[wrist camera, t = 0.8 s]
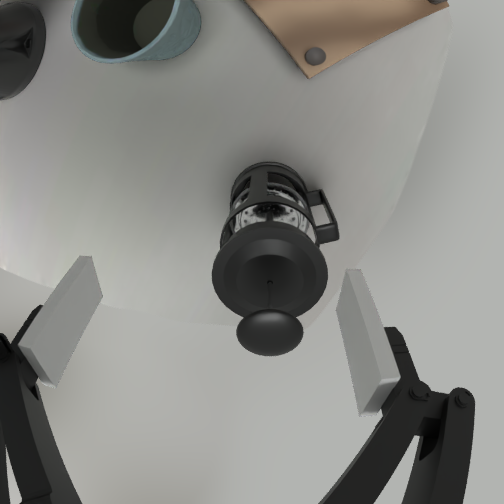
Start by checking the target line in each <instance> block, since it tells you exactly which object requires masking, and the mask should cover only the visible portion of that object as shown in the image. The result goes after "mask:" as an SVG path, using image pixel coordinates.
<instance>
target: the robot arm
mask: <svg viewBox="0 0 504 504" xmlns="http://www.w3.org/2000/svg"><path fill="white" fill-rule="evenodd" d="M0 1H1V0H0ZM44 45H45V24H44V20H43V17H42V15H41V13H40V11H39V10H38V9H37V8H36V7H35V6H33V5H31V4H28V3H21V2H12V3H8V4H5V5H3V6H0V101H1V100H5V99H8V98H11V97H14V96H15V95H17V94H18V93H20V92H21V91H22V90H23V89H24V88H25V87H26V86H27V85H28V84H29V82H30V81H31V79H32V78H33V76H34V74H35V73H36V71H37V68H38V66H39V64H40V61H41V58H42V55H43V51H44ZM102 297H103V295H102V292H101V288H100V285H99V282H98V278H97V275H96V271H95V267H94V264H93V260H92V256H79V258H78V259H77V260H76V261H75V263H74V264H73V265H72V267H71V268H70V269H69V271H68V272H67V273H66V275H65V276H64V277H63V279H62V280H61V281H60V283H59V284H58V285H57V287H56V288H55V290H54V291H53V293H52V294H51V295H50V297H49V298H48V300H47V301H46V302H45V304H44V305H39V306H38V307H37V308H35V309H34V310H33V311H32V312H31V314H30V315H29V317H28V318H27V320H26V321H25V322H24V324H23V326H22V327H21V329H20V330H19V332H18V333H17V335H16V336H15V338H14V339H13V341H12V343H11V344H10V342H9V341H8V339H7V337H6V336H5V335H4V334H3V333H0V504H10V498H9V488H8V478H7V465H6V447H7V451H8V455H9V459H10V462H11V466H12V469H13V473H14V476H15V479H16V482H17V485H18V488H19V491H20V494H21V497H22V502H21V503H20V504H82V502H81V500H80V498H79V496H78V494H77V492H76V490H75V488H74V486H73V484H72V481H71V479H70V477H69V474H68V472H67V470H66V468H65V465H64V463H63V460H62V458H61V455H60V453H59V450H58V447H57V445H56V442H55V439H54V436H53V434H52V431H51V428H50V425H49V422H48V419H47V416H46V412H45V409H44V406H43V402H42V399H41V395H40V391H39V388H38V386H37V384H36V381H37V379H38V377H39V379H40V380H41V382H42V383H43V385H46V386H50V387H53V388H57V385H58V383H59V381H60V379H61V377H62V375H63V373H64V370H65V368H66V366H67V364H68V362H69V360H70V358H71V356H72V354H73V352H74V350H75V348H76V346H77V344H78V342H79V340H80V338H81V336H82V334H83V332H84V330H85V328H86V327H87V325H88V323H89V321H90V319H91V317H92V315H93V313H94V312H95V310H96V308H97V306H98V304H99V303H100V301H101V299H102ZM336 312H337V316H338V321H339V325H340V329H341V333H342V337H343V342H344V346H345V350H346V354H347V359H348V364H349V368H350V372H351V378H352V382H353V387H354V392H355V397H356V402H357V407H358V412H359V417H362V416H372V415H377V413H378V412H379V410H380V409H381V410H382V414H383V417H382V418H381V420H380V421H379V422H378V424H377V425H376V426H375V427H376V428H375V429H374V431H373V432H372V434H371V435H370V437H369V438H368V440H367V441H366V443H365V444H364V445H363V447H362V448H361V450H360V451H359V453H358V454H357V455H356V457H355V458H354V459H353V461H352V462H351V464H350V465H349V466H348V468H347V469H346V470H345V472H344V473H343V474H342V475H341V477H340V478H339V479H338V481H337V482H336V483H335V484H334V486H333V487H332V488H331V489H330V491H329V492H328V493H327V494H326V495H325V497H324V498H323V499H322V500H321V501H320V502H319V504H373V503H374V502H375V501H376V499H377V498H378V496H379V495H380V493H381V492H382V490H383V489H384V487H385V486H386V484H387V482H388V481H389V479H390V478H391V476H392V474H393V473H394V471H395V469H396V468H397V466H398V464H399V462H400V461H401V459H402V457H403V456H404V454H405V452H406V450H407V448H408V447H409V445H410V443H411V441H412V439H413V437H414V435H417V436H420V438H419V442H418V447H417V451H416V455H415V460H414V463H413V467H412V471H411V475H410V478H409V481H408V485H407V489H406V492H405V495H404V498H403V501H402V504H463V499H464V494H465V489H466V484H467V478H468V472H469V465H470V458H471V450H472V440H473V430H474V415H475V400H474V397H473V395H472V393H470V392H469V391H468V390H467V389H465V388H459V387H458V388H455V389H453V390H452V391H451V392H450V394H445V393H439V392H434V391H431V389H430V388H429V386H428V385H427V384H425V383H424V382H422V381H420V380H419V377H418V375H417V372H416V369H415V367H414V364H413V361H412V358H411V356H410V353H409V351H408V348H407V346H406V343H405V340H404V338H403V335H402V334H401V333H400V332H399V331H398V330H397V328H396V327H383V325H382V322H381V319H380V316H379V314H378V311H377V309H376V306H375V303H374V301H373V298H372V296H371V293H370V291H369V288H368V286H367V283H366V281H365V278H364V276H363V273H362V271H361V269H346V272H345V277H344V281H343V285H342V289H341V293H340V297H339V300H338V305H337V308H336Z"/></svg>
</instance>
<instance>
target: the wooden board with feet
mask: <svg viewBox="0 0 504 504" xmlns="http://www.w3.org/2000/svg"><path fill="white" fill-rule="evenodd" d="M243 1H244V2H245V3H246V4H247V5H248V6H249V7H250V8H251V9H252V11H253V12H254V13H255V14H256V15H257V16H258V17H259V18H260V20H261V21H262V22H263V23H264V24H265V25H266V27H267V28H268V29H269V30H270V31H271V32H272V34H273V35H274V36H275V37H276V39H277V40H278V41H279V42H280V43H281V45H282V46H283V47H284V48H285V50H286V51H287V52H288V53H289V55H290V56H291V57H292V59H293V60H294V61H295V63H296V65H297V66H298V67H299V68H300V69H301V70H302V72H303V73H304V75H305V76H306V77H307V79H310V78H312V77H313V76H315V75H316V74H318V73H320V72H321V71H323V70H325V69H326V68H328V67H330V66H331V65H333V64H335V63H336V62H338V61H340V60H342V59H343V58H345V57H347V56H349V55H350V54H352V53H354V52H356V51H358V50H359V49H361V48H363V47H365V46H367V45H369V44H371V43H372V42H374V41H376V40H378V39H380V38H382V37H384V36H386V35H388V34H390V33H392V32H394V31H396V30H398V29H400V28H402V27H404V26H406V25H408V24H410V23H412V22H414V21H417V20H419V19H421V18H423V17H425V16H428V15H430V14H432V13H434V12H437V11H439V10H441V9H444V8H446V7H449V4H448V3H447V0H243Z"/></svg>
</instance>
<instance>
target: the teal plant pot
mask: <svg viewBox="0 0 504 504" xmlns="http://www.w3.org/2000/svg"><path fill="white" fill-rule="evenodd" d="M200 26H201V17H200V13H199V10H198V8H197V6H196V5H195V3H194V2H193V1H192V0H76V2H75V5H74V8H73V12H72V16H71V31H72V36H73V39H74V41H75V44H76V45H77V47H78V48H79V50H80V51H81V52H82V53H83V54H84V55H85V56H87V57H88V58H90V59H92V60H94V61H97V62H101V63H121V62H129V61H140V60H164V59H169V58H173V57H175V56H178V55H179V54H181V53H183V52H184V51H186V50H187V49H188V48H189V47H190V46H191V45H192V44H193V43H194V41H195V40H196V38H197V36H198V34H199V31H200Z"/></svg>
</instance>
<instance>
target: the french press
mask: <svg viewBox="0 0 504 504" xmlns="http://www.w3.org/2000/svg"><path fill="white" fill-rule="evenodd" d="M267 173H272V174H277V175H280V176H283V177H285V178H286V179H287V180H289V181H290V182H291V183H292V184H293V186H294V188H295V189H296V192H295V191H294V190H293V189H291V188H289V187H287V186H285V185H281V184H277V183H270V182H267ZM250 180H251V182H250V188H248V189H246V190H245V191H243V189H244V187H245V185H246V184H247V183H248V182H249V181H250ZM242 191H243V192H242ZM321 204H323V205H324V208H325V210H326V213H327V216H328V218H329V221H330V223H329V224H324V225H320V226H316V225H315V222H314V218H313V215H312V212H311V208H310V207H311V206H316V205H321ZM309 222H310V223H311V225H312V227H313V230H314V234H315V238H316V241H315V243H314V242H313V241H312V240H311V239H310V238H309V237H308V236H307V234H306V233H307V230H308V227H309ZM224 232H225V233H224ZM336 240H339V230H338V224H337V221H336V218H335V216H334V214H333V212H332V209H331V207H330V205H329V202H328V200H327V198H326V196H325V194H324V191H323V190H322V189H319V190H315V191H310V192H307V189H306V186H305V183H304V182H303V180H302V178H301V177H300V176H299V175H298V174H297V172H296V171H294V170H293V169H291V168H290V167H288V166H286V165H284V164H281V163H276V162H262V163H258V164H255V165H252V166H250V167H249V168H247V169H245V170H244V171H243V172H242V173H241V174H240V175H239V176H238V178H237V179H236V180H235V182H234V185H233V187H232V191H231V202H230V214H229V217H228V218H227V220H226V222H225V224H224V226H223V230H222V234H221V239H220V251H219V252H218V254H217V256H216V258H215V261H214V264H213V269H212V283H213V286H214V289H215V292H216V294H217V295H218V297H219V299H220V300H221V301H222V302H223V303H224V305H225V306H226V307H228V308H229V309H230V310H231V311H233V312H234V313H236V314H238V315H240V316H242V317H244V318H243V319H242V320H241V321H240V323H239V324H238V326H237V330H236V333H237V334H236V335H237V338H238V341H239V342H240V344H241V345H242V346H243V347H244V348H245V349H247V350H248V351H250V352H252V353H254V354H258V355H263V356H278V355H282V354H285V353H288V352H289V351H291V350H293V349H294V348H296V347H297V346H298V344H299V343H300V342H301V340H302V337H303V327H302V324H301V323H300V321H299V320H298V319H297V318H296V317H298V316H300V315H302V314H303V313H305V312H307V311H308V310H310V309H311V308H312V307H313V306H314V305H315V304H316V303H317V302H318V301H319V299H320V298H321V296H322V295H323V293H324V290H325V288H326V285H327V280H328V269H327V265H326V261H325V258H324V256H323V254H322V252H321V251H320V249H319V247H320V244H323V243H328V242H332V241H336Z"/></svg>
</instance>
